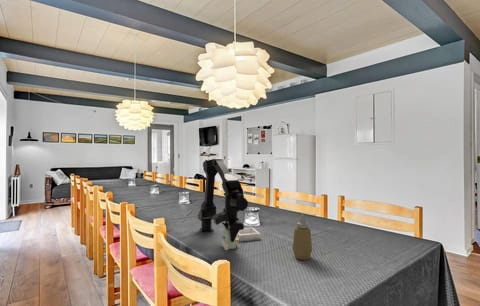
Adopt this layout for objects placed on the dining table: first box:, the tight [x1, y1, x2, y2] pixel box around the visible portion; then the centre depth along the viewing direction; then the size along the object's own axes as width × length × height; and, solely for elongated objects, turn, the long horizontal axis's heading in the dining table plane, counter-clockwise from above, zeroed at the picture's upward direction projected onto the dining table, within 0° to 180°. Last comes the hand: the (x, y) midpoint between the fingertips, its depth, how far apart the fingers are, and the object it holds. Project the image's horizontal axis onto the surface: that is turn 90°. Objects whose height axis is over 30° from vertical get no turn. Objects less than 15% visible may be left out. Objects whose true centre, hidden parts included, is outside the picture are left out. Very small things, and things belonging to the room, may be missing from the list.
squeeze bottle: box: [292, 213, 313, 261], centre depth 114 cm, size 8×8×18 cm
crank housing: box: [221, 238, 239, 251], centre depth 130 cm, size 14×10×3 cm
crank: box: [224, 226, 240, 246], centre depth 135 cm, size 22×3×6 cm, turn 17°
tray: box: [236, 227, 262, 243], centre depth 140 cm, size 11×11×3 cm
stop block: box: [224, 228, 237, 250], centre depth 125 cm, size 4×4×8 cm
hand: (230, 240), depth 125 cm, fingers closed on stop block, 4 cm apart
